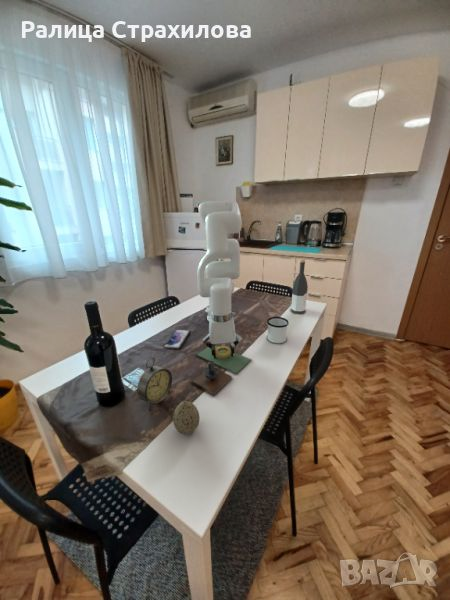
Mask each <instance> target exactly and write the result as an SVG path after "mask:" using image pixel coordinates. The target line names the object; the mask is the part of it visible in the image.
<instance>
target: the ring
mask: <svg viewBox="0 0 450 600" xmlns="http://www.w3.org/2000/svg"><path fill="white" fill-rule="evenodd" d="M218 346H219V345H218ZM220 350H226V351H228V352H227V353H223V354H221V353H219V351H220ZM215 353H216V356H217V357H220V358H225V357H228V356H230V355H231V349H230V346H226V345H220V346H219V347H218V348H216V349H215Z"/></svg>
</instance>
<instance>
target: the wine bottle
mask: <svg viewBox="0 0 450 600" xmlns="http://www.w3.org/2000/svg"><path fill="white" fill-rule="evenodd" d="M305 264H306V259H305V258H300V261H299V272H298V274H297V276H296V277H295V278H294V281H293V284H292V295H291V305H290V306H291V307H290V311H291V312H292V313H293V314H296V315H297V314H298V315H299V314H300V315H301V314H305V313H306V306H307V296H308V287H309V286H308V280H307V278H306V275H305V268H306V267H305V266H306V265H305Z"/></svg>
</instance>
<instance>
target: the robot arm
mask: <svg viewBox="0 0 450 600" xmlns="http://www.w3.org/2000/svg"><path fill="white" fill-rule="evenodd" d="M198 215H199V217H200V220H201V222H202V224H203V227H204V229H205V239H206V240H205V241H206V253H205V254H204V255H203V257H202V258H201V260H200V261H199V263H198V266H197V270H196V271H197V272H196V285H197V292H198V295H199V297H201V298H208V306H207V307H206V308H205V310H204V313H207V316H206V320H207V321H208V334H207V335H206V336H205V337H204V338H203V339H202V344H204V345H205V346H206V347H209V348H210V349H211V351H212V356H214V359H215V358H216V353H215V346H216V345H222V344H230V345H229V348H230V349H231V356H232V357H233V353H235V349H236V346H237V345H239V343H240V342H241V341H242V340H243V337H242V335H241V334H239V333H238V332H236V326H235V325H236V324H235V319H234V317H233V316H236V311H232V295H233V293H234V291H235V282H234V281H233V280H236V279H237V280H238V279H239V277H240V275H241V248H240V242H239V241H238V240H237V239H236V238H228V235H229V234H239V233H240V232H241V231H242V225H243V222H242V221H243V220H242V214H241V210H240V206H239V204H238V202H237V201H235V200H208V201H203V202H201V203H200V204H199V205H198ZM225 259H226V260H225Z"/></svg>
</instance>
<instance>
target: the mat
mask: <svg viewBox="0 0 450 600" xmlns="http://www.w3.org/2000/svg"><path fill="white" fill-rule="evenodd" d="M218 347H219V345H218V344H216V346H215V349H216V348H218ZM227 352H228V351H226V350H220V351H219V353H221V354H223V353H227ZM196 357H199V358H201V359H203V360H205V361H207V362H209V361H213V362H214V365H215V366H218V367H220V368H223V369H224V370H227V371H229V372H231V373H233V374H235V375H237V374H238V373H240V372H241V371H242V370H243V369H244V368H245V367H246V366H247V365H248V363H250V362H251V358H248V357H245V356H243V355H241V354H238V353H236V352H234V353H233V357H232V356H231V355H230V356H228V357H225V358H220V357H217V356H216V358H215V359H214V356H212V351H211V349H210V348H209V347H208V346H206V347H205V348H204V349H202V350H201V351H200V352H198V353H197V354H196Z"/></svg>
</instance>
